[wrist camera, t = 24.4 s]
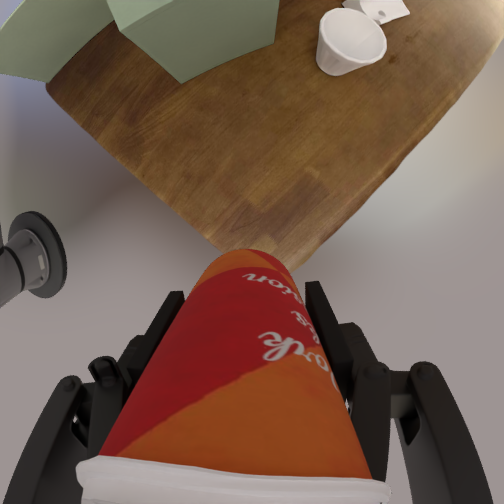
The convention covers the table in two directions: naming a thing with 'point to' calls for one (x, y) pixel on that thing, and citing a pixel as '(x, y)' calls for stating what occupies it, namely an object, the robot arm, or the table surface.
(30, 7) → the cupboard door
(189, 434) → the coffee cup
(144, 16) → the cupboard
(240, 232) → the table surface
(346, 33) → the cup
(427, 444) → the robot arm
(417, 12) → the table surface
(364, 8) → the bracket
